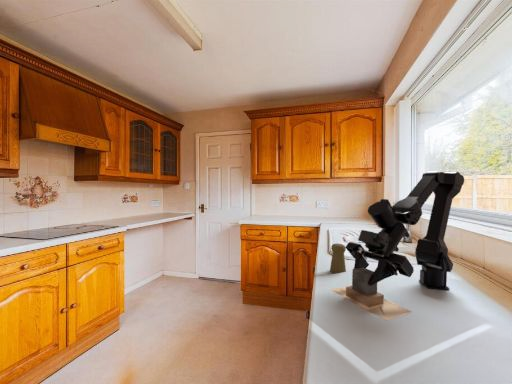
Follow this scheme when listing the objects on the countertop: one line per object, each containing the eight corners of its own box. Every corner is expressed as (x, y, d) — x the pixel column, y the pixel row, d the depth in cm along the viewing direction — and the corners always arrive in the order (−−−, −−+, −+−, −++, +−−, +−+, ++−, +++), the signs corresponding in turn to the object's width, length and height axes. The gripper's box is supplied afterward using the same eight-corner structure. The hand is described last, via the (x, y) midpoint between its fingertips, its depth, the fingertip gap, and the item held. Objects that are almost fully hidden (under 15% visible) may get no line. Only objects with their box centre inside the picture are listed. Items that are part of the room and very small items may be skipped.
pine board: (330, 293, 77) (330, 289, 77) (354, 287, 81) (354, 284, 81) (386, 324, 60) (386, 320, 60) (412, 315, 64) (412, 311, 64)
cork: (343, 276, 92) (343, 246, 91) (327, 272, 95) (327, 244, 95) (348, 271, 96) (348, 243, 96) (332, 268, 100) (333, 241, 100)
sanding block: (345, 296, 72) (346, 267, 72) (359, 293, 74) (360, 265, 74) (369, 309, 65) (370, 277, 65) (383, 305, 67) (384, 274, 67)
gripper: (350, 216, 79) (322, 254, 75) (408, 225, 62) (376, 274, 58) (367, 239, 83) (341, 276, 78) (426, 253, 66) (397, 301, 62)
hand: (360, 281), depth 69 cm, fingers closed on sanding block, 5 cm apart
